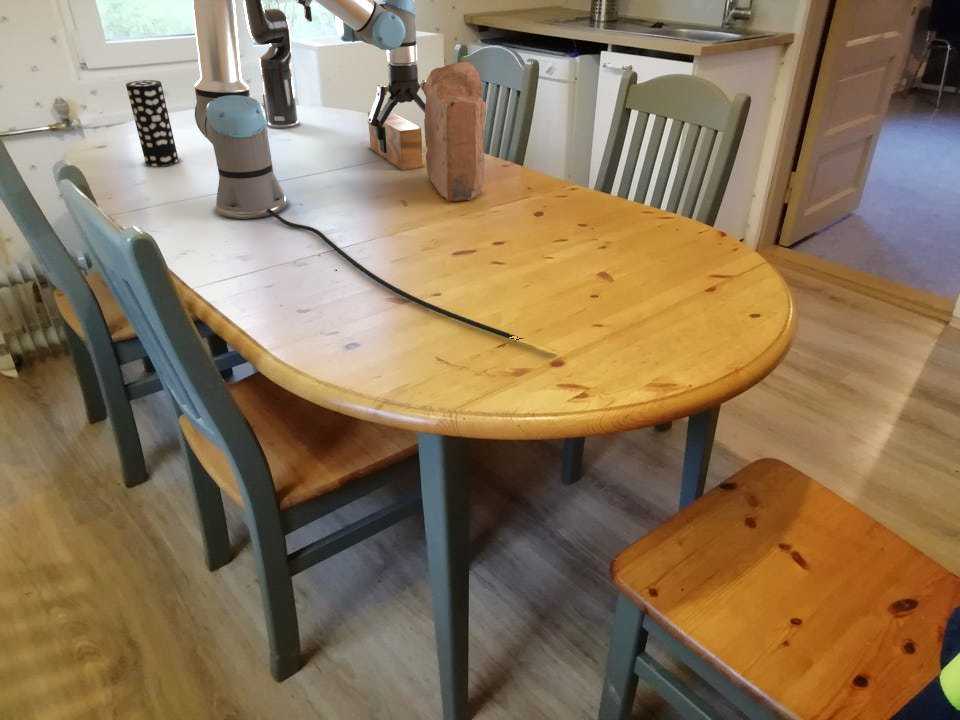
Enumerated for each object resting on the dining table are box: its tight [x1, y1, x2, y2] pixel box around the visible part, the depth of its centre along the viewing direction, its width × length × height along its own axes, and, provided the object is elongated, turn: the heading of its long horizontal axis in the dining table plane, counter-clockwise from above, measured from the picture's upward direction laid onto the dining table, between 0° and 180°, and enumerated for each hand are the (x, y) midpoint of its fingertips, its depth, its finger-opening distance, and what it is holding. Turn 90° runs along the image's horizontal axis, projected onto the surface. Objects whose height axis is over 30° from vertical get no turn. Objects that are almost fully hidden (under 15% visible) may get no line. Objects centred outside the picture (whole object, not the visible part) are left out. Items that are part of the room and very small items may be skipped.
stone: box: [423, 61, 487, 202], centre depth 163 cm, size 22×11×28 cm, turn 18°
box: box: [367, 110, 424, 171], centre depth 190 cm, size 23×6×10 cm, turn 29°
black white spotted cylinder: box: [125, 79, 179, 167], centre depth 181 cm, size 8×8×20 cm
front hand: (407, 148), depth 185 cm, fingers open, 13 cm apart
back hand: (324, 20), depth 191 cm, fingers open, 8 cm apart
